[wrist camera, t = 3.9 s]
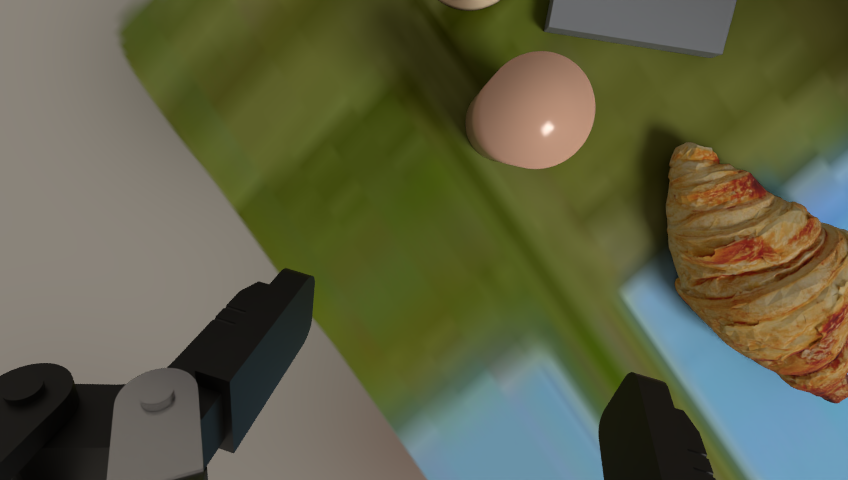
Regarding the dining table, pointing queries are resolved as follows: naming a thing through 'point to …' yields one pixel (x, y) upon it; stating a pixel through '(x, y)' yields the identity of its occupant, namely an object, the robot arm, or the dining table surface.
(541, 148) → the pinkish tan rounded cylinder
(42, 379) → the robot arm
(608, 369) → the dining table surface
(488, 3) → the cork coaster
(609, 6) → the slate board
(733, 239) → the croissant
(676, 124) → the dining table surface
